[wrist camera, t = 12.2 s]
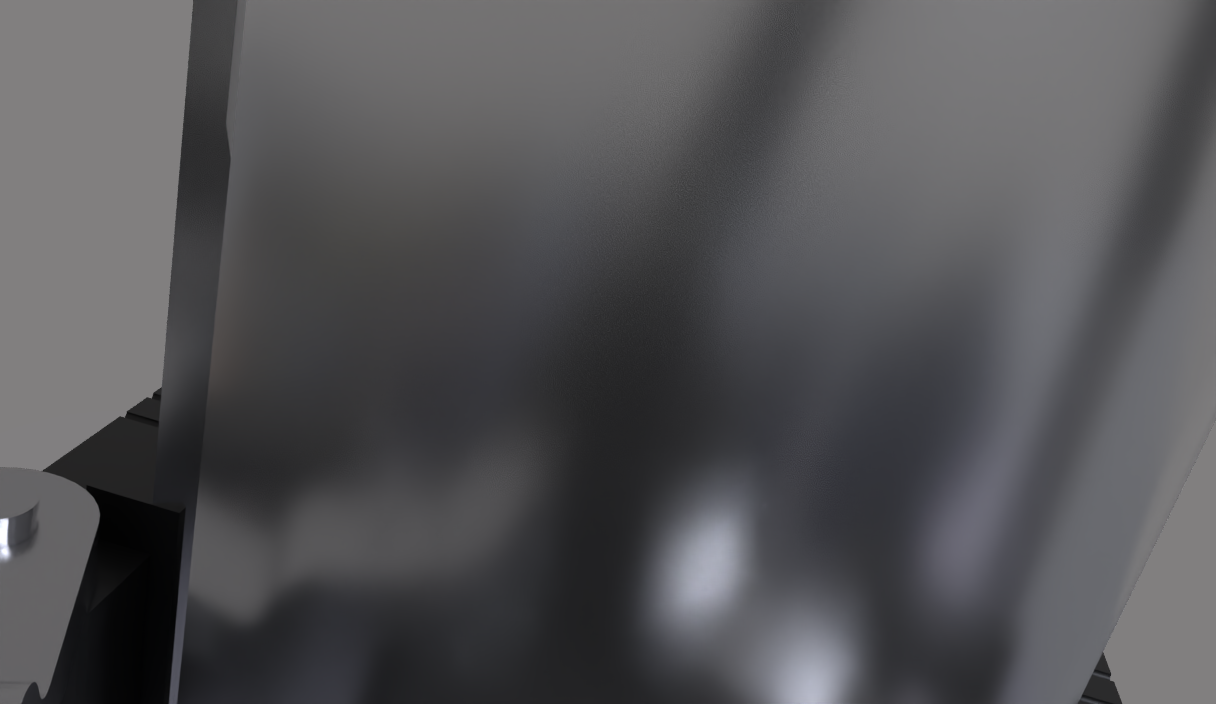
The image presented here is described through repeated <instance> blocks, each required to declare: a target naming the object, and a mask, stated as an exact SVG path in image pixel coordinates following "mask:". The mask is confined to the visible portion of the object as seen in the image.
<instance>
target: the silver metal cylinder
mask: <svg viewBox="0 0 1216 704" xmlns="http://www.w3.org/2000/svg"><path fill="white" fill-rule="evenodd" d="M179 173H180V174H179V185H178V198H177V209H176V221H175V235H174V246H173V258H172V270H171V283H170V295H169V307H168V320H167V333H166V345H165V357H164V369H163V382H162V394H161V406H160V418H159V431H158V443H157V455H156V468H155V480H154V492H153V504H159V505H170V506H181V507H186V512H185V523H184V535H183V546H182V558H181V570H180V581H179V593H178V604H177V616H176V627H175V639H174V650H173V662H172V673H171V685H170V696H169V704H1078V702H1079V700H1080V698H1081V696H1082V694H1083V692H1084V690H1085V688H1086V686H1087V684H1088V682H1089V679H1090V677H1091V675H1092V673H1093V671H1094V669H1095V667H1096V665H1097V663H1098V661H1099V659H1100V657H1101V655H1102V653H1103V651H1104V649H1105V647H1106V645H1107V642H1108V640H1109V638H1110V636H1111V634H1112V632H1113V630H1114V628H1115V626H1116V624H1117V622H1118V620H1119V618H1120V616H1121V614H1122V612H1123V610H1124V608H1125V605H1126V603H1127V601H1128V599H1129V597H1130V595H1131V593H1132V591H1133V589H1134V587H1135V585H1136V583H1137V581H1138V579H1139V577H1140V575H1141V573H1142V571H1143V569H1144V567H1145V564H1146V562H1147V560H1148V558H1149V556H1150V554H1151V552H1152V550H1153V548H1154V546H1155V544H1156V542H1157V540H1158V538H1159V536H1160V533H1161V532H1162V530H1163V528H1164V525H1165V523H1166V521H1167V519H1168V517H1169V515H1170V513H1171V511H1172V509H1173V507H1174V505H1175V503H1176V501H1177V499H1178V497H1179V494H1180V493H1181V491H1182V488H1183V486H1184V484H1185V482H1186V480H1187V478H1188V476H1189V474H1190V472H1191V470H1192V468H1193V466H1194V464H1195V462H1196V460H1197V458H1198V455H1199V453H1200V451H1201V449H1202V447H1203V445H1204V443H1205V441H1206V439H1207V437H1208V435H1209V433H1210V431H1211V429H1212V427H1213V425H1214V423H1215V421H1216V0H193V12H192V24H191V36H190V50H189V61H188V73H187V87H186V98H185V110H184V123H183V135H182V147H181V160H180V172H179Z"/></svg>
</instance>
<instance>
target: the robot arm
mask: <svg viewBox="0 0 1216 704" xmlns="http://www.w3.org/2000/svg"><path fill="white" fill-rule="evenodd" d="M161 394H162V387H161V388H160V389H158V390H157V391H156V392H154V393H153V397H152V399H151V398H146V399H144V400H143V401H142V402H140V403H139V404H137V405H136V406H134V407H133V408H131V409H130V410H128V411H127V414H126V416H125V418H124V417H118V418H117V419H116V420H114V421H113V422H111V423H110V424H109V425H107V426H106V427H104V428H103V429H101V430H100V431H99V432H97V433H96V434H94V435H93V436H91V437H90V438H89V439H87V440H86V441H84V442H83V443H82V444H80V445H79V446H77V447H76V448H74V449H73V450H71V451H70V452H69V453H67V454H66V455H64V456H63V457H61V458H60V459H59V460H57V461H56V462H54V463H53V464H51V465H50V466H49V467H47V468H46V469H44V470H43V471H37V470H31V469H22V468H5V467H4V468H3V467H1V468H0V704H169V696H170V685H171V673H172V662H173V650H174V639H175V627H176V616H177V604H178V593H179V581H180V570H181V558H182V546H183V535H184V523H185V512H186V507H181V506H170V505H159V504H153V492H154V480H155V468H156V455H157V443H158V431H159V418H160V406H161ZM1110 676H1111V672H1110V670H1109V667H1108V664H1107V662H1106V659H1105V656H1104V653H1102V655H1101V657H1100V659H1099V661H1098V663H1097V665H1096V667H1095V669H1094V671H1093V673H1092V675H1091V677H1090V679H1089V682H1088V684H1087V686H1086V688H1085V690H1084V692H1083V694H1082V696H1081V698H1080V700H1079V702H1078V704H1122V702H1121V699H1120V697H1119V694H1118V691H1117V689H1116V686H1115V683H1114V682H1113V681H1110Z"/></svg>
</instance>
